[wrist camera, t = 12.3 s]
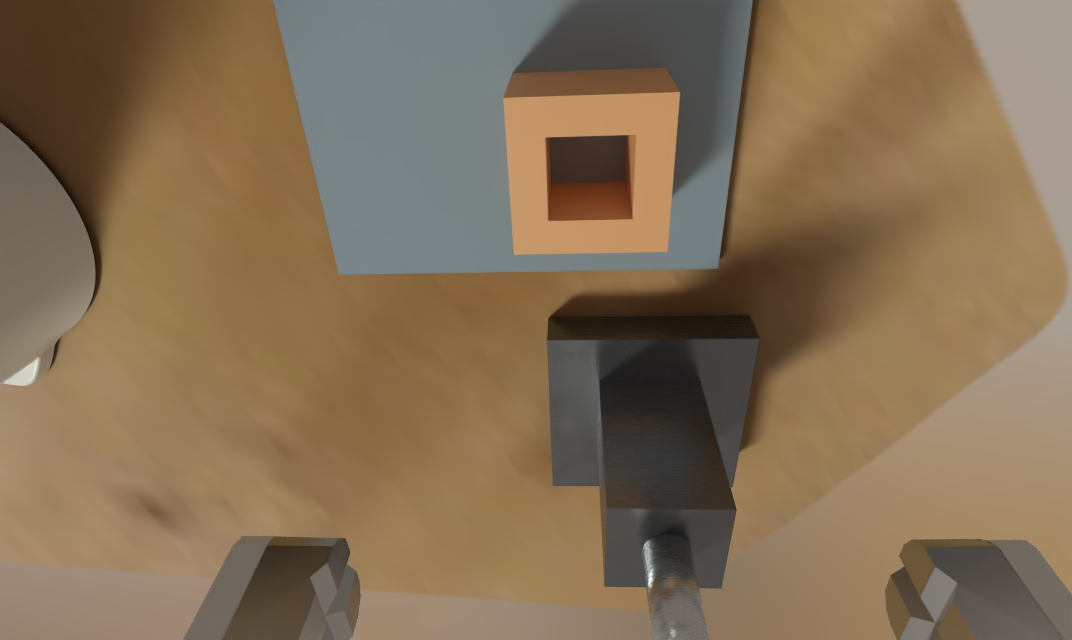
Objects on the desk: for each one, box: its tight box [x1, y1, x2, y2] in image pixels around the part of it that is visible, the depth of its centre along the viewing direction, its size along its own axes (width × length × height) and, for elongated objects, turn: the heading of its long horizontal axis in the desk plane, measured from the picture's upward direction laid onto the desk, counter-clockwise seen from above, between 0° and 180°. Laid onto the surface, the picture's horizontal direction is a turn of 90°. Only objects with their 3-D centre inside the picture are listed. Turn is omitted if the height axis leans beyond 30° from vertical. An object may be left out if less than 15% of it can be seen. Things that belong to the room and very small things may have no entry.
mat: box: [273, 0, 753, 275], centre depth 27 cm, size 18×12×1 cm, turn 93°
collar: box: [503, 68, 680, 255], centre depth 25 cm, size 6×6×4 cm
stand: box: [547, 316, 760, 640], centre depth 28 cm, size 10×10×14 cm
